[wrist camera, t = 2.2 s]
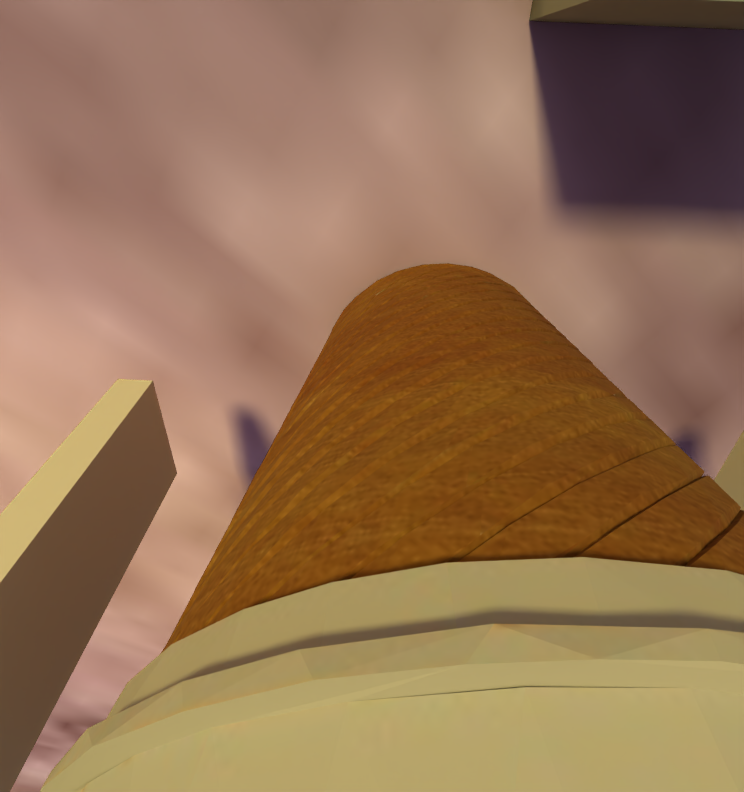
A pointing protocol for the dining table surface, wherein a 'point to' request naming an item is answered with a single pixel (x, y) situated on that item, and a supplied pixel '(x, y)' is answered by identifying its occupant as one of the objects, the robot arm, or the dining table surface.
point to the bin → (643, 12)
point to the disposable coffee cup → (450, 582)
